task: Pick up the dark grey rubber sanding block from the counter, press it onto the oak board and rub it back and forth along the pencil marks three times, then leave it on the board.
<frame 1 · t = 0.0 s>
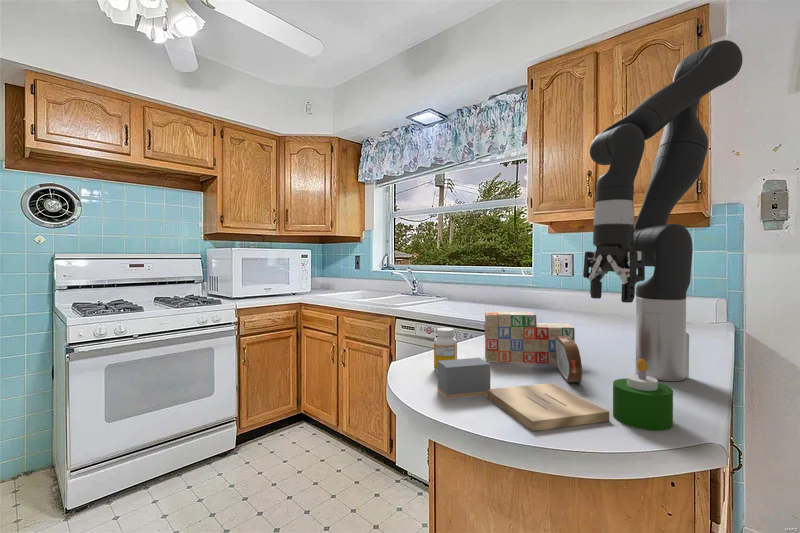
hand: (610, 300, 83), 17 cm above the worktop, tool pointing down, fingers open, 8 cm apart
board: (543, 408, 69), on the worktop
supplement bottle: (445, 370, 93), on the worktop
sanding block: (463, 392, 78), on the worktop
tin: (567, 377, 87), on the worktop
stack of blocks: (527, 361, 101), on the worktop
candle: (641, 421, 64), on the worktop
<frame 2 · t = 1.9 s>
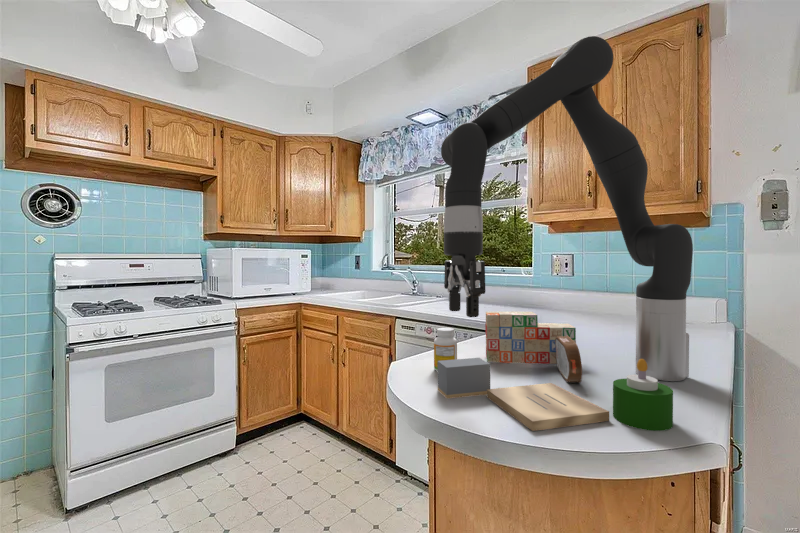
hand: (463, 313, 77), 15 cm above the worktop, tool pointing down, fingers open, 8 cm apart
nothing on the worktop moved.
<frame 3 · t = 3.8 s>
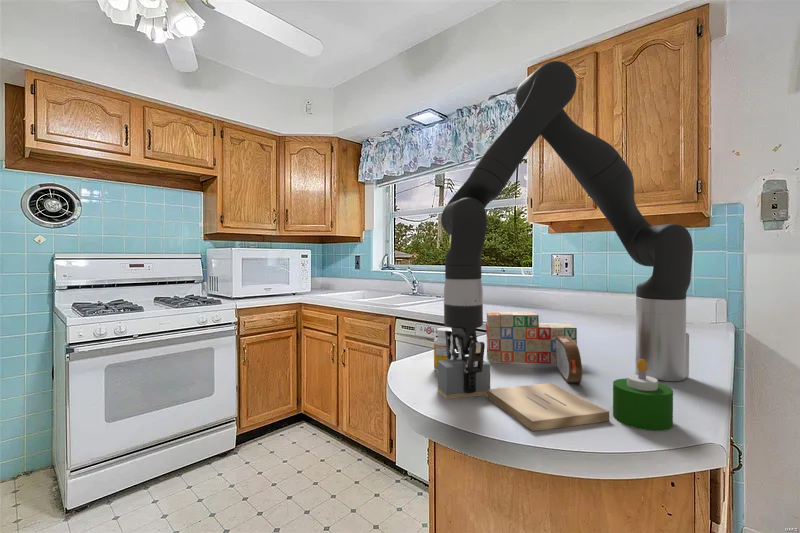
hand: (463, 387, 78), 1 cm above the worktop, tool pointing down, fingers closed on sanding block, 5 cm apart
sanding block: (463, 392, 78), on the worktop, touching gripper
everything else where it was.
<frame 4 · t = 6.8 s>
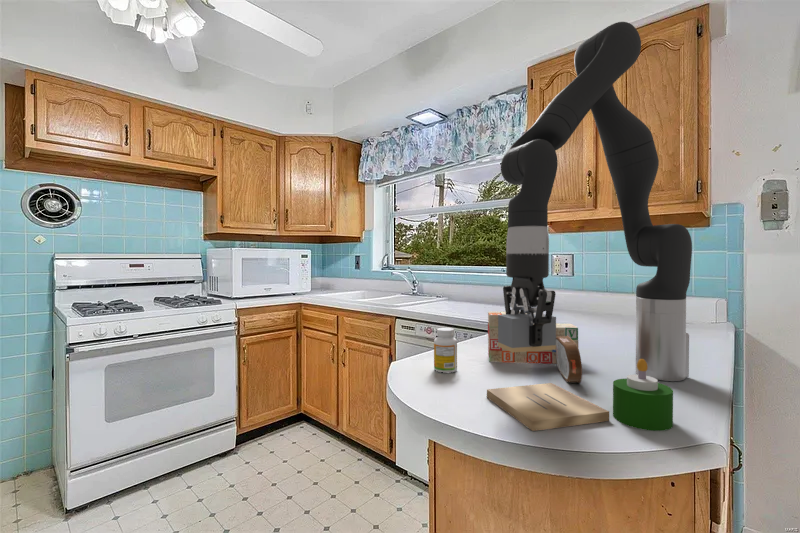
hand: (526, 342, 73), 11 cm above the worktop, tool pointing down, fingers closed on sanding block, 5 cm apart
sanding block: (526, 347, 73), point 10 cm above the worktop, touching gripper
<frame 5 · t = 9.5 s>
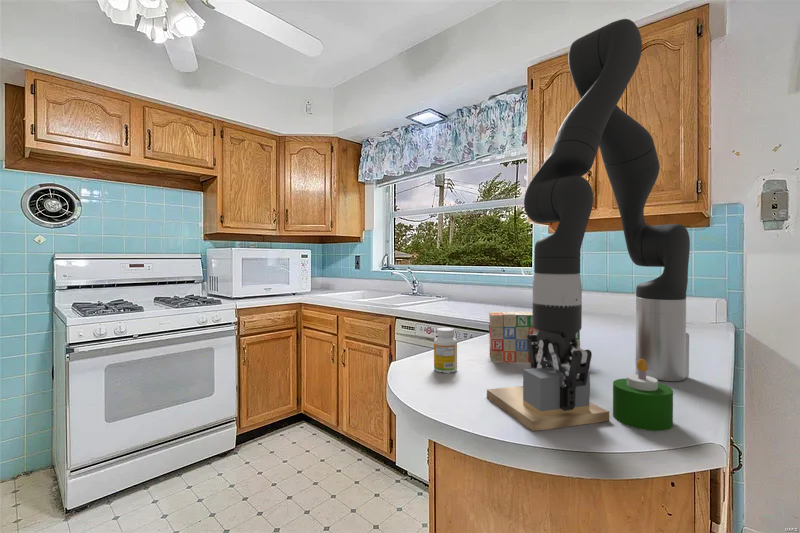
hand: (555, 402, 65), 2 cm above the worktop, tool pointing down, fingers closed on sanding block, 5 cm apart
sanding block: (555, 407, 65), point 2 cm above the worktop, touching board, gripper
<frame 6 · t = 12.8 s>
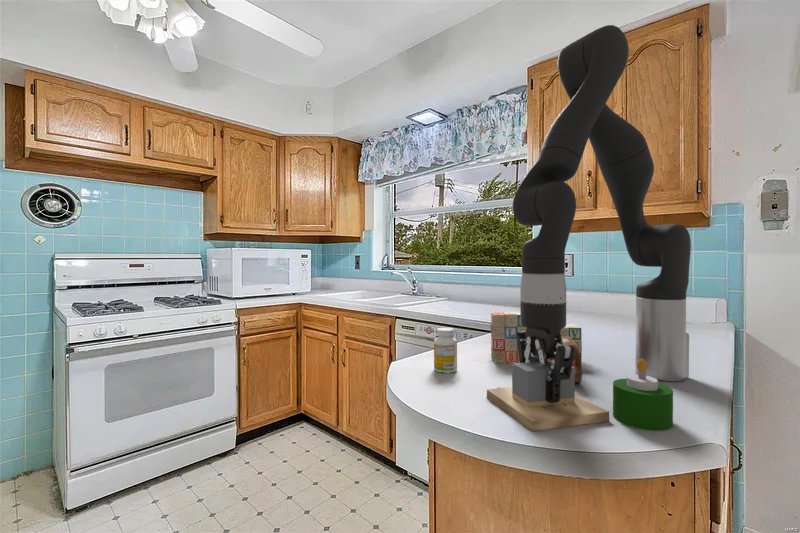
hand: (542, 395, 69), 2 cm above the worktop, tool pointing down, fingers closed on sanding block, 5 cm apart
sanding block: (542, 399, 69), point 2 cm above the worktop, touching gripper
when the fingers open (2 cm above the worktop, at t = 15.1 s): sanding block stays where it is, resting on board.
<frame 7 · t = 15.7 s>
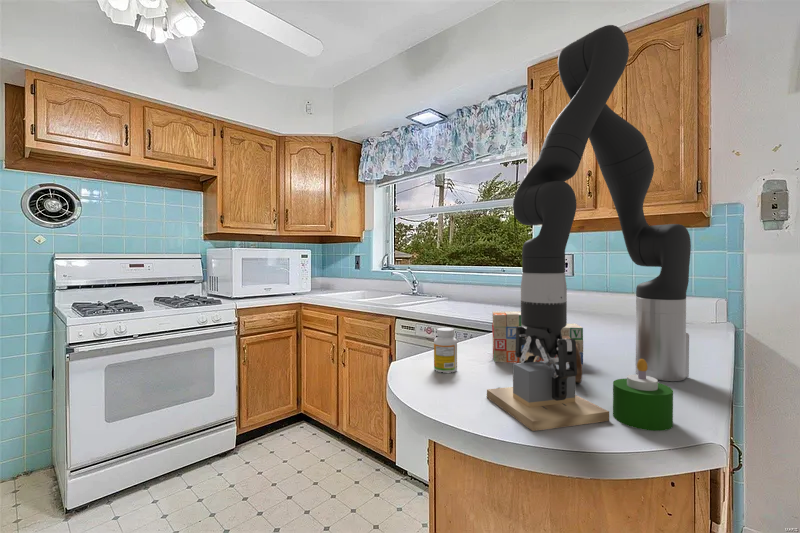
hand: (543, 391, 69), 3 cm above the worktop, tool pointing down, fingers open, 8 cm apart
sanding block: (543, 399, 69), point 2 cm above the worktop, touching board
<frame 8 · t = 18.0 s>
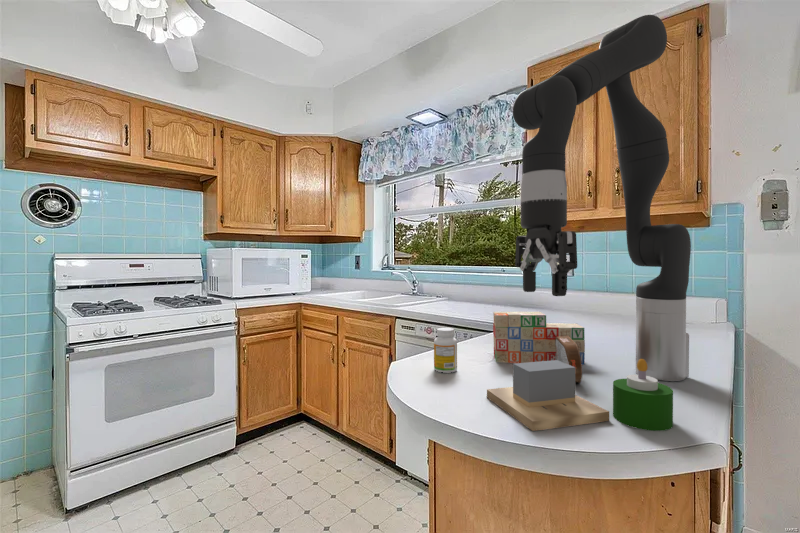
hand: (543, 293, 68), 20 cm above the worktop, tool pointing down, fingers open, 8 cm apart
at the end: sanding block inside the target area on the board (0.1 cm from its centre), point 1.5 cm above the board's base; sanding block tilted 0°; sanding block moved 15.4 cm from its start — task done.
